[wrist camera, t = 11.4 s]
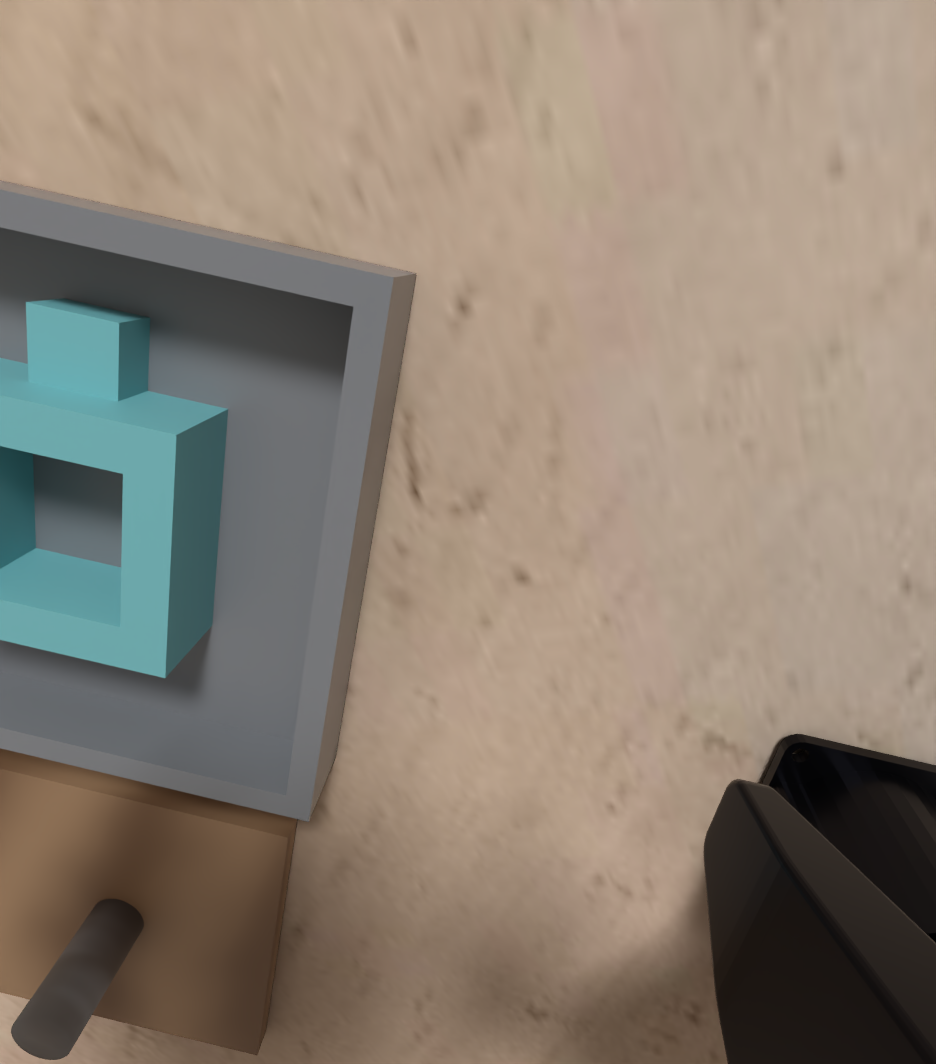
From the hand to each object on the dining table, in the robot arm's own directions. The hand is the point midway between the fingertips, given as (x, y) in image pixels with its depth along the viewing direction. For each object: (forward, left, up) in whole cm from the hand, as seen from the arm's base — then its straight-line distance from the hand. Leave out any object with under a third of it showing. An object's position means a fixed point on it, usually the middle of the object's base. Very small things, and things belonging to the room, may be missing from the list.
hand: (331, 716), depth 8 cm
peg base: (+9, +21, -13) cm, 26 cm away
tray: (+10, +4, -13) cm, 17 cm away
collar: (+10, +4, -12) cm, 16 cm away
